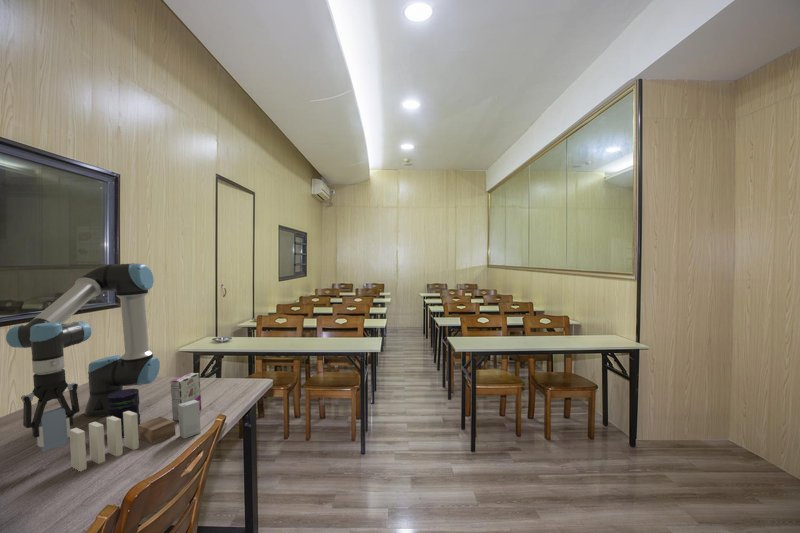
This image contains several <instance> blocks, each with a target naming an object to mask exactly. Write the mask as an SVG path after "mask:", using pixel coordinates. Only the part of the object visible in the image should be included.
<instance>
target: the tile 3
mask: <svg viewBox="0 0 800 533" xmlns="http://www.w3.org/2000/svg"><path fill="white" fill-rule="evenodd" d="M106 437H107V439H106V440H107V441H106V442H107V453H108V454H111V455H113V456H114V457H119V456H122V455H124V454H123V437H122V430H121V419H119V418H117V417H114V416H111V417H109V416H108V417H107V416H106Z"/></svg>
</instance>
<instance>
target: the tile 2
mask: <svg viewBox="0 0 800 533" xmlns="http://www.w3.org/2000/svg"><path fill="white" fill-rule="evenodd" d="M104 429H105V428H104V424H102V423H100V422H97V421H93V422H90V423H89V422H88V437H89V459H91V461H92V460H93V461H92V462H94V463H96V464H98V465H100V464H103V463H105V462H106V451H105V432H104V431H105V430H104Z"/></svg>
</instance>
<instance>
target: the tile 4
mask: <svg viewBox="0 0 800 533" xmlns="http://www.w3.org/2000/svg"><path fill="white" fill-rule="evenodd" d="M123 424H124V436H123V437H124V438H123V439H124V442H123V443H124V447H126V448H129V449H130V450H132V451H133V450H134V451H135V450H136V449H139V448H140V444H139V443H140V442H139V440H140V439H139V438H138V419H137V413H134V412H131V411H126V412H123Z"/></svg>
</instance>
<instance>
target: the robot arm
mask: <svg viewBox="0 0 800 533" xmlns="http://www.w3.org/2000/svg"><path fill="white" fill-rule="evenodd" d="M154 282H155V279H154V274H153V272H152V270H151V269H150V267H149V266H147V265H146V264H144V263H116V264H113V263H110V264H108V263H107V264H104V265H103V264H102V265H100V266H97V267H95V268H93V269H90V270H89V271H88V272H85V273H84V274H83V275H81V276H80V277H79V278H77V279H76V280H75V282H74V285H73V286H72V287H70V288H69V289H68V290H67V291H66V292H64V294H62V295H60V296H59V297H58V298H57V299H56V300H55V301H54V302H52V303H50V305H49V306H47V307H46V308H44V310H42V311H41V312H40V313H39V314H37V315H36V316H35V317H34V318H33V319H31V321H29V322H28V323H26V324H25V325H23V324H20V325H15V326H13V327H11V328H9V329H8V330H7V332H6V336H5V340H6V342H7V344H8V346H10V347H12V348H21V349H22V348H23V349H28V348H30V349H31V363H32V373H33V376H32V378H33V389H32V392H31V393H28V394H26V395H21V397H20V399H21V401H22V403H23V415H22V417H23V418H22V419H23V424H22V426H23V427H24V428H26V429H30V428H31V431H32V437H33V438H34V439H36V444H37V447H39V448H41V447H43V446H44V440H43V426H41V425H40V421H41V418H42V415H43V412H45V407H46V405H47V403H48V402H49V401H52V400H57V402H58V403H59V405H60V407H63V408H64V409H65V414H66V429H67V439H68V438H69V439H70V430H71V426H74V418H73V417H74V416H75V415H76V414H78V413H79V412H80V404H79V399H78V398H79V397H78V388H79V387H78V386H79V384H78V383H76V382H70V383H68V382H67V381H66V370H65V369H64V368H65V356H64V349H65V348H68V347H71V346H75V345H79V344H81V343H83V342H86V341H88V339H90V337H91V336H92V327H91V325H90V324H88V323H87V322H85V321H73V322H71V323H69V322H68V323H66V322H67V321H68V320H69V319H70V318H71V317H72V316H73V315H75V313H77V312H78V310H80V309H81V308H82V307H83V306H84V305H85V304H87V303H88V302H89V301H90V300H91V299H92V298H95V297H97V296H100V295H101V293H104V292H113V291H114V292H115V296H116V297H117V298H119V299H120V308H121V309H120V310H121V320H122V328H123V330H122V332H123V342H124V343H123V344H124V354H123V355H119V354H118V355H112V356H106V357H103V358H99V359H96V360H93V361H91V362H90V363H89V364H88V368H87V369H88V370H87V371H88V372H87V374H88V390H89V391H88V392H89V396H88V400H87V402H86V406H85V408H84V415H85V416H86V417H88V418H95V417H98V418H99V417H104V416H108V415H109V411H108V395H109V394H111V393H113V392H116V391H120V390H124V389H123V387H128V386H130V387H131V386H144V385H150V384H152V383H154V381H155V380H156V378H157V377H158V375H159V372H160V367H161V366H160V365H161V363H160V360H159V358H158V357H157V356H156V357H155V356H154V351H152V350H150V348H149V337H148V325H147V313H146V300H145V299H146V298H145V297H146V296H147V295H149V290H151V289H152V287H153V286H154V285H153V284H154ZM66 389H67V390H68V394H69V401H70V404H71V407H70V406H69V404H68V401H67V399H66V398H65V396H64V392H65V391H66ZM34 397H36V398H37V399H38V400H37V404H36V405H37V406H36V409H35V412H34V415H33V416H32V409H33V408H32V407H33V406H32V405H33V404H32V402H33V399H34ZM32 417H33V418H32Z"/></svg>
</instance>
